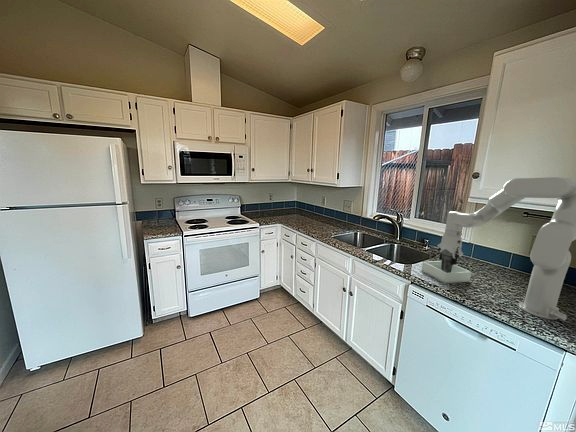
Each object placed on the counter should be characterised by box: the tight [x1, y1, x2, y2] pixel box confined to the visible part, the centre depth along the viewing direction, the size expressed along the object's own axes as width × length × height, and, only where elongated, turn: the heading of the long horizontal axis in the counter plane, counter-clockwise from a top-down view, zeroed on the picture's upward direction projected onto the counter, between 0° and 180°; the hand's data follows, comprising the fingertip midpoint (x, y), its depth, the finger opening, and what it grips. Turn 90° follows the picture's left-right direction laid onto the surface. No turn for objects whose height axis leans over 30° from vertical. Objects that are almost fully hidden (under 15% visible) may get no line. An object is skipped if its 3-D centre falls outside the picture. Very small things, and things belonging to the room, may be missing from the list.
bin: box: [421, 260, 472, 284], centre depth 139 cm, size 17×17×6 cm
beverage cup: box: [441, 249, 456, 273], centre depth 137 cm, size 7×7×20 cm
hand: (447, 261), depth 137 cm, fingers open, 7 cm apart
